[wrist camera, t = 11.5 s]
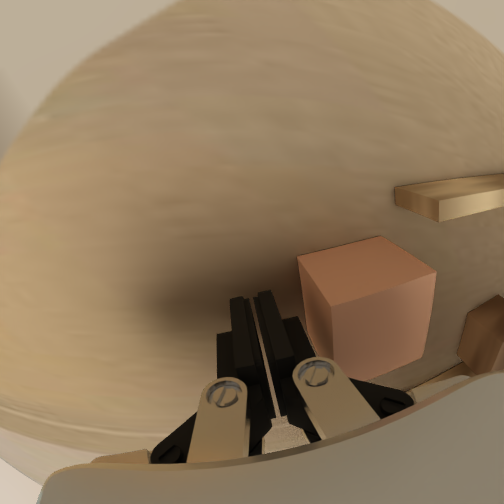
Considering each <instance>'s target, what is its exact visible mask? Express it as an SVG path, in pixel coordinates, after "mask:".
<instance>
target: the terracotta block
mask: <svg viewBox="0 0 504 504" xmlns="http://www.w3.org/2000/svg"><path fill="white" fill-rule="evenodd" d="M297 260H298V267H299V273H300V280H301V287H302V295H303V302H304V309H305V317H306V325H307V332H308V335H309V337H310V339H311V341H312V343H313V346H314V348H315V350H316V352H317V354H318V357H325V358H329V359H331V360H333V361H334V362H335V363H336V364H337V365H338V366H339V367H340V368H341V370H342V371H343V372H344V373H345V375H346V376H347V377H349V378H353V379H356V380H360V381H364V382H365V381H368V380H370V379H373V378H375V377H378V376H380V375H383V374H385V373H388V372H390V371H393V370H395V369H397V368H400V367H402V366H404V365H406V364H409V363H411V362H413V361H415V360H417V359H420V358H422V356H423V352H424V347H425V343H426V338H427V333H428V328H429V323H430V317H431V311H432V305H433V298H434V290H435V282H436V271H435V270H433V269H432V268H430V267H429V266H428V265H426V264H425V263H423V262H421V261H420V260H418V259H417V258H415V257H414V256H412V255H411V254H409V253H408V252H406V251H405V250H403V249H401V248H400V247H398V246H397V245H395V244H393V243H392V242H390V241H389V240H387V239H385V238H384V237H382V236H378V237H374V238H370V239H366V240H362V241H358V242H354V243H350V244H346V245H342V246H338V247H334V248H330V249H326V250H321V251H317V252H313V253H309V254H305V255H301V256H297Z"/></svg>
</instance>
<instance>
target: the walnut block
mask: <svg viewBox="0 0 504 504" xmlns="http://www.w3.org/2000/svg"><path fill="white" fill-rule="evenodd" d="M457 355H458V356H459V357H460V358H461V359H462V360H463V361H464V362H465V364H466V365H467V366H468V367H469V368H470V369H471V370H472V371H473V372H474V373H475V374H476V376H477V375H480V374H483V373H488V372H492V371H500V370H504V298H503V297H501V296H500V295H499V294H498V295H497V296H495V297H494V298H492V299H490V300H489V301H487V302H486V303H484V304H482V305H481V306H479V307H477V308H476V309H474V310H472V311H470V312H469V313H468V314H467V319H466V323H465V327H464V331H463V334H462V338H461V342H460V345H459V348H458V352H457Z"/></svg>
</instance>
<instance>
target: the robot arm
mask: <svg viewBox="0 0 504 504" xmlns="http://www.w3.org/2000/svg"><path fill="white" fill-rule="evenodd" d="M253 299H254V304H255V308H256V312H257V317H258V321H259V326H260V330H261V334H262V339H263V343H264V347H265V351H266V356H267V360H268V364H269V368H270V373H271V377H272V381H273V385H274V390H275V394H276V398H277V402H278V406H279V410H280V415H281V417H282V416H286V415H287V418H288V422H289V423H290V424H292V425H294V426H296V427H299V428H300V429H301V432H302V434H303V436H304V438H305V440H306V442H307V445H303V446H299V447H295V448H291V449H286V450H282V451H277V452H272V453H267V454H265V439H264V436H265V434H266V433H267V432H268V431H269V430H270V429H271V427H272V423H271V419H273V418H276V414H275V410H274V405H273V401H272V396H271V392H270V387H269V383H268V378H267V374H266V369H265V365H264V360H263V355H262V351H261V347H260V343H259V339H258V335H257V330H256V326H255V322H254V318H253V314H252V309H251V305H250V301H249V298H248V299H244V298H243V296H241V297H236V298H232V299H230V313H231V325H232V331H230V332H225V333H220V334H217V379H216V380H214V381H212V382H211V383H209V384H208V385H207V386H206V387H205V388H204V389H203V392H202V394H201V398H200V402H199V407H198V411H197V412H196V413H195V414H194V415H193V416H191V417H190V418H189V419H188V420H187V421H186V422H184V423H183V424H182V425H181V426H180V427H178V428H177V429H176V430H175V431H174V432H172V433H171V434H170V435H169V436H168V437H166V438H165V439H164V440H163V441H161V442H160V443H159V444H158V445H157V446H156V447H155V448H154V449H153V450H152V451H148V450H147V449H143V450H138V451H132V452H127V453H121V454H114V455H107V456H101V457H98V458H95V459H94V460H93V461H92V462H91V463H88V464H79V465H74V466H70V467H66V468H63V469H60V470H58V471H56V472H54V473H52V474H51V475H50V476H49V477H48V478H47V480H46V481H45V483H44V485H43V487H42V489H41V492H40V494H39V497H38V500H37V503H36V504H504V370H500V371H492V372H488V373H483V374H480V375H477V376H474V377H469V376H465V375H460V376H455V377H452V378H449V379H446V380H443V381H439V382H436V383H432V384H429V385H425V386H421V387H417V388H413V389H412V391H411V392H409V393H406V392H403V391H401V390H397V389H393V388H388V387H384V386H380V385H376V384H372V383H368V382H364V381H360V380H356V379H353V378H349V377H347V376H346V375H345V373H344V372H343V371H342V370H341V368H340V367H339V366H338V365H337V364H336V363H335V362H334V361H333V360H331V359H329V358H325V357H316V355H315V353H314V351H313V349H312V346H311V344H310V342H309V340H308V338H307V335H306V333H305V331H304V329H303V327H302V324H301V322H300V320H299V318H298V316H295V317H291V318H287V319H283V320H282V319H281V317H280V314H279V311H278V308H277V305H276V303H275V300H274V297H273V294H272V292H271V290H268V291H263V292H259V293H258V296H257V297H253Z"/></svg>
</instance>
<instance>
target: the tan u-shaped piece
mask: <svg viewBox="0 0 504 504" xmlns="http://www.w3.org/2000/svg"><path fill="white" fill-rule="evenodd" d="M395 200H396V205H398V206H400V207H403V208H405V209H408V210H410V211H413V212H415V213H418V214H420V215H423V216H425V217H427V218H430V219H432V220H434V221H437V222H442V221H446V220H450V219H455V218H459V217H463V216H467V215H471V214H475V213H479V212H483V211H486V210H490V209H494V208H498V207H502V206H504V174H495V175H485V176H476V177H467V178H458V179H450V180H442V181H434V182H427V183H420V184H413V185H406V186H399V187H395ZM460 375H465V376H469V377H474V376H476V374H475V373H474V372H473V371H472V370H471V369H470V368H469V367H468V366H467V365H466V364H465V362H464V361H463V362H462V363H460V364H458V365H457V366H455V367H453V368H452V369H450V370H448V371H446V372H444V373H443V374H441V375H439V376H437V377H435V378H433V379H431V380H429V381H427V382H425V383H423V384H421V385H419V386H417V387H421V386H425V385H429V384H432V383H436V382H439V381H443V380H446V379H449V378H452V377H455V376H460ZM417 387H415V388H417ZM411 391H412V389H411V390H409V391H407V392H406V393H409V392H411Z"/></svg>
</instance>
